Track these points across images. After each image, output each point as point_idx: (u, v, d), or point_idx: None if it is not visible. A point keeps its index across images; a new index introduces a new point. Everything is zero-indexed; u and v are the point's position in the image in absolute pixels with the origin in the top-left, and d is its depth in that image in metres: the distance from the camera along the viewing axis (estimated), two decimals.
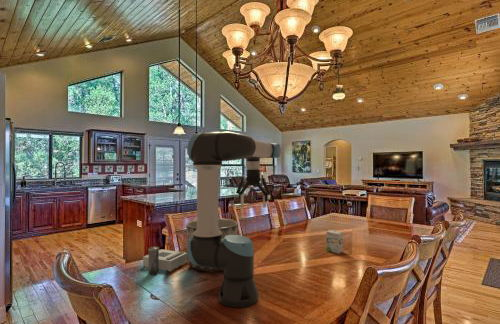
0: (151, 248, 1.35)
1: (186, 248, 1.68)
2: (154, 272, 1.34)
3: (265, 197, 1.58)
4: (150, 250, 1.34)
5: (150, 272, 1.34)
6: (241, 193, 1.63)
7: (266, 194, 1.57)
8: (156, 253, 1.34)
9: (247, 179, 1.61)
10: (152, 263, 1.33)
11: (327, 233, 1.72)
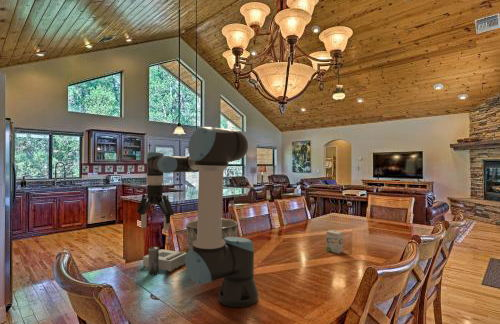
0: (151, 248, 1.35)
1: (186, 248, 1.68)
2: (154, 272, 1.34)
3: (166, 218, 1.33)
4: (150, 250, 1.34)
5: (150, 272, 1.34)
6: (142, 212, 1.38)
7: (167, 215, 1.32)
8: (156, 253, 1.34)
9: (148, 196, 1.37)
10: (152, 263, 1.33)
11: (327, 233, 1.72)
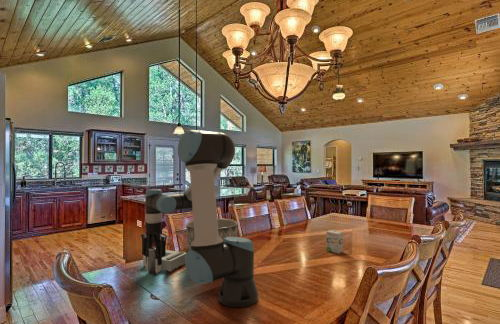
0: (151, 248, 1.35)
1: (186, 248, 1.68)
2: (154, 272, 1.34)
3: (158, 260, 1.34)
4: (150, 250, 1.34)
5: (150, 272, 1.34)
6: (147, 254, 1.36)
7: (158, 257, 1.33)
8: None
9: (147, 234, 1.36)
10: (152, 263, 1.33)
11: (327, 233, 1.72)
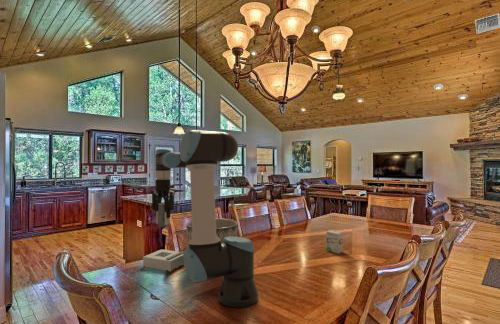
0: (160, 203, 1.47)
1: None
2: (163, 224, 1.46)
3: (167, 213, 1.46)
4: (160, 204, 1.46)
5: (160, 224, 1.46)
6: (157, 209, 1.48)
7: (167, 211, 1.45)
8: None
9: (156, 190, 1.48)
10: (162, 216, 1.46)
11: (327, 233, 1.72)
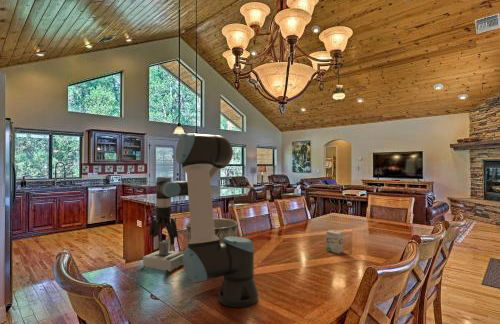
0: (161, 241, 1.48)
1: (185, 248, 1.68)
2: None
3: (171, 240, 1.46)
4: (161, 243, 1.46)
5: None
6: (154, 234, 1.49)
7: (171, 237, 1.45)
8: (166, 245, 1.47)
9: (157, 217, 1.49)
10: (163, 255, 1.46)
11: (327, 233, 1.72)
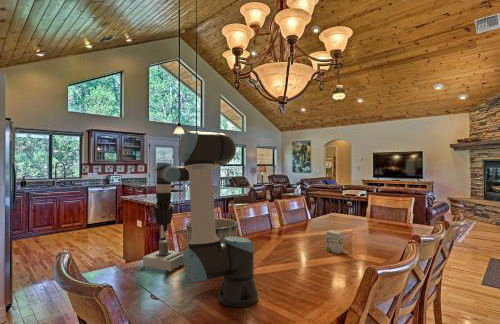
0: (161, 241, 1.48)
1: (185, 248, 1.69)
2: None
3: (164, 227, 1.48)
4: (160, 243, 1.46)
5: None
6: (161, 222, 1.48)
7: (164, 224, 1.47)
8: (166, 245, 1.47)
9: (157, 203, 1.49)
10: (162, 255, 1.46)
11: (327, 233, 1.72)
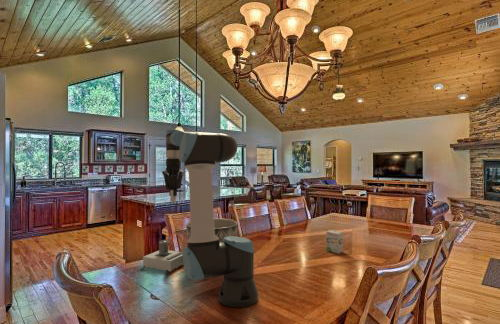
0: (161, 241, 1.48)
1: None
2: None
3: (174, 191, 1.53)
4: (160, 243, 1.46)
5: None
6: (170, 187, 1.53)
7: (174, 189, 1.52)
8: (166, 245, 1.47)
9: (167, 169, 1.54)
10: (162, 255, 1.46)
11: (327, 233, 1.72)
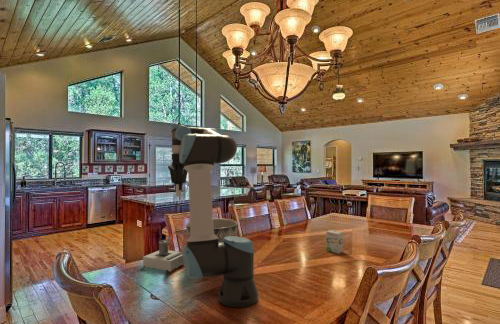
0: (161, 241, 1.48)
1: None
2: None
3: (179, 186, 1.56)
4: (160, 243, 1.46)
5: None
6: (176, 181, 1.57)
7: (180, 183, 1.55)
8: (166, 245, 1.47)
9: (172, 163, 1.57)
10: (162, 255, 1.46)
11: (327, 233, 1.72)
